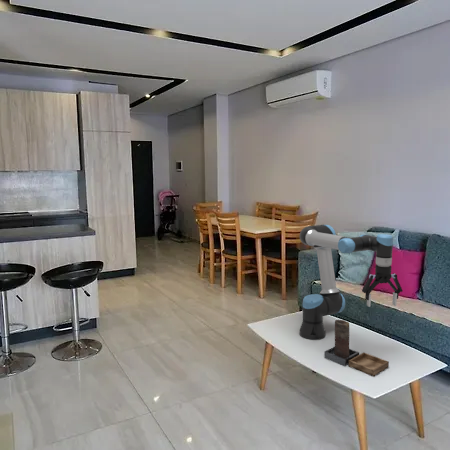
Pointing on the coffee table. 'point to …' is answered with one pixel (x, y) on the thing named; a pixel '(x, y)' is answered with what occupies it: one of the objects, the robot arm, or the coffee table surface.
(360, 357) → the tray
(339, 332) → the rusty brown cylinder
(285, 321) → the coffee table surface
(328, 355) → the collar
